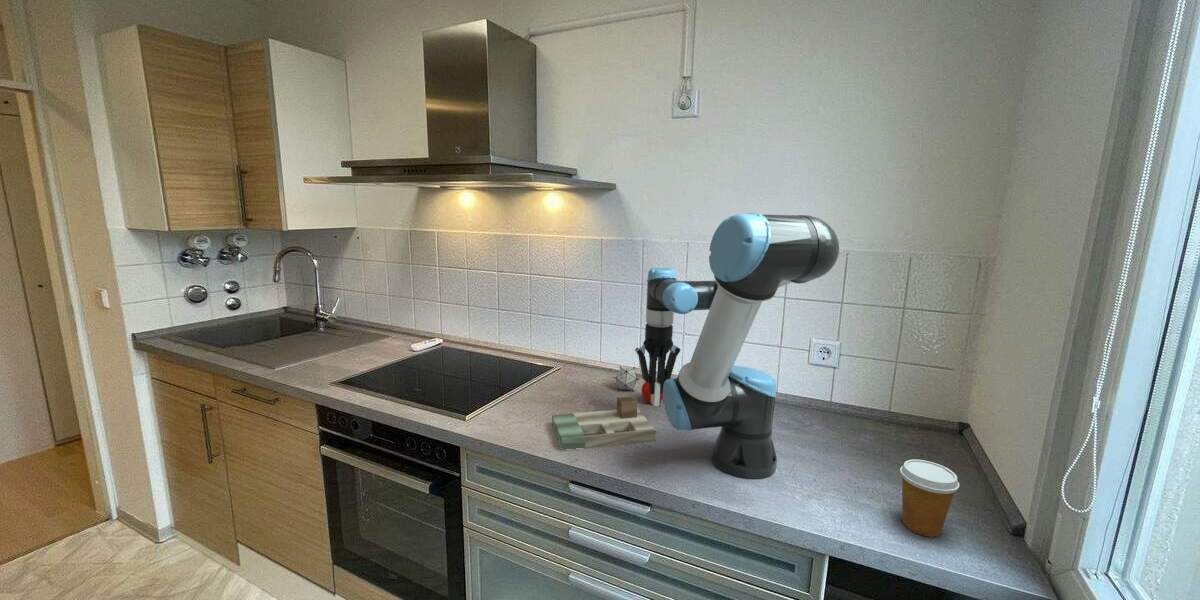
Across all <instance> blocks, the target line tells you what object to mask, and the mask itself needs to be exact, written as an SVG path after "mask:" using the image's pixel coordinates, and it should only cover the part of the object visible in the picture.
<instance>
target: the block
mask: <svg viewBox="0 0 1200 600" xmlns="http://www.w3.org/2000/svg"><path fill="white" fill-rule="evenodd" d="M637 409H638V400H636V399H635V398H634V396H633V395H629V396H618V397H616V410H617V413H618V415H619V416H620V418H621V419H625V418H636V417H637Z"/></svg>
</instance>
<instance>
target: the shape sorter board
mask: <svg viewBox="0 0 1200 600" xmlns="http://www.w3.org/2000/svg"><path fill="white" fill-rule="evenodd" d="M551 426H553V427H552V429H553V431H555V432H554V433H555V436H557V437H556V439H557V441H559V442H558V444H559V443H560V444H559V447H560V446H561V447H560V449H561V448H562V450H565V451H567V450H566V449H575V450H577V449H576V448H584V449H591V448H590V447H594V448H602V447H601V446H603V447H610V446H612V447H613V446H619V445H621V446H622V445H630V444H638V443H641V444H642V443H649V442H656V439H657V437H656V436H657V434H656V433H657V429H656V428H655V427H654V426H653V425H652V424H651V423H650V422H649V420H648V419H647V418H646V417H645V416H644V414H643V413H642V412H641V411H640V409H639V408H637V417H636V418H625V419H621V418H620V416H619V415H618V413H617V409H608V410H596V411H587V412H585V411H584V412H573V413H563V414H562V413H561V414H560V413H559V414H552V415H551ZM562 450H561V451H562Z"/></svg>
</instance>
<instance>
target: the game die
mask: <svg viewBox="0 0 1200 600" xmlns="http://www.w3.org/2000/svg"><path fill="white" fill-rule="evenodd" d="M635 369H636V366H633V368H632V367H622V366H621V365H619V370H618V372H617V374H616V376H613V379H615V380H616V383H617V386H618V389H617V391H618V392H619V391H620V390H629V391H632V392H633V393H634V392H635V390H634V388H635V386H636V384H637V382H638V381H640V378H638V376H637V373H636V370H635Z"/></svg>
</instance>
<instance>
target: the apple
mask: <svg viewBox="0 0 1200 600" xmlns="http://www.w3.org/2000/svg"><path fill="white" fill-rule="evenodd" d="M656 381H658V380H657V379H656ZM663 385H664V384H663ZM640 390H641V395H642V396H643V398H644V400H645V401H646V402H648V404H652V403H651V394H650V393H649V382H646V381H645V382H644V383H643V384H642V386H641V389H640ZM662 401H663V393H662V394H660V401H659V404H660V403H662ZM652 405H653V404H652Z"/></svg>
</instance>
